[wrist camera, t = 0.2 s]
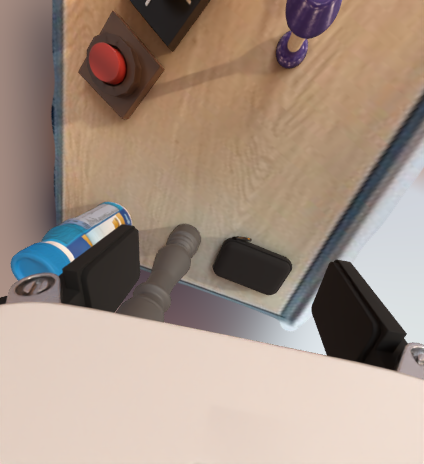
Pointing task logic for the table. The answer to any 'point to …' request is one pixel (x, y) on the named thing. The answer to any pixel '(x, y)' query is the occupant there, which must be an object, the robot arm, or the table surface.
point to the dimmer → (170, 17)
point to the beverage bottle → (69, 240)
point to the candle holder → (163, 275)
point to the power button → (107, 63)
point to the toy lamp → (304, 28)
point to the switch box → (137, 68)
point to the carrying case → (251, 265)
